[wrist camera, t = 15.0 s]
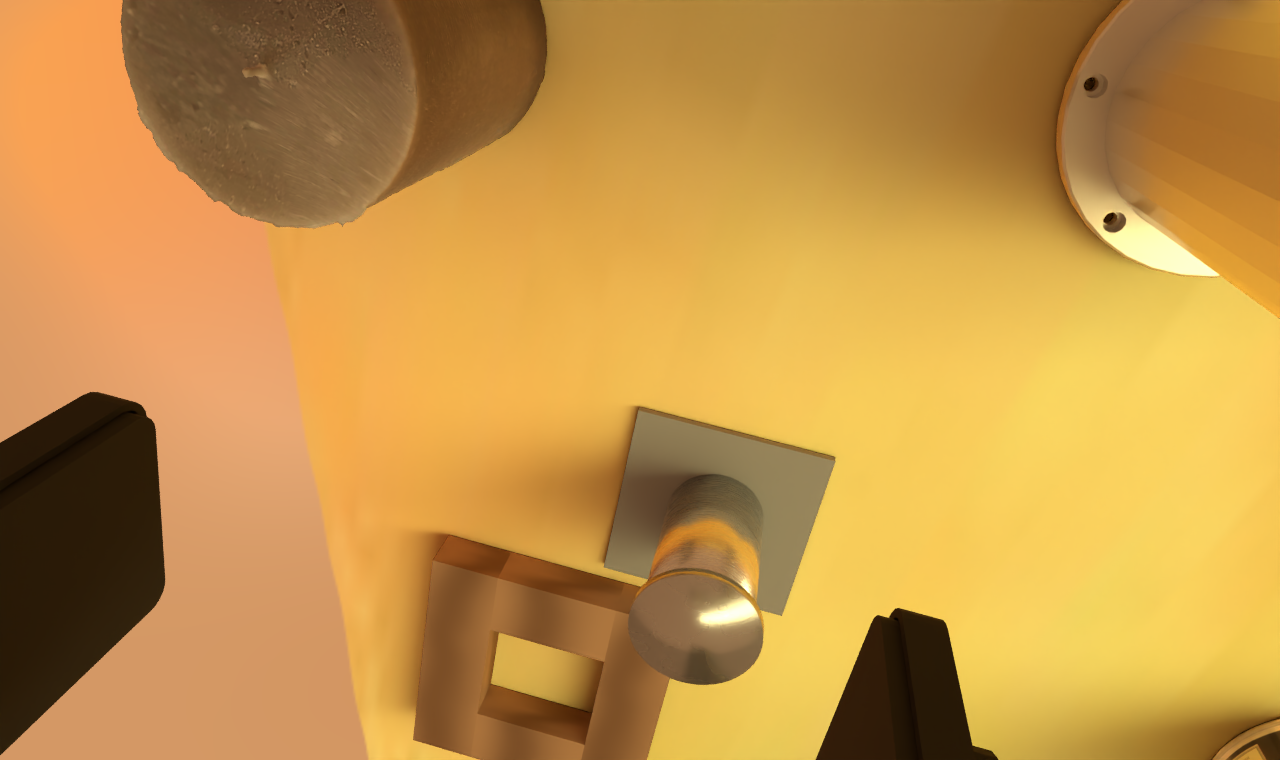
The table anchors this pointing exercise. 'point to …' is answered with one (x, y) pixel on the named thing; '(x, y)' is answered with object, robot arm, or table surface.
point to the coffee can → (1254, 744)
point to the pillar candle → (327, 94)
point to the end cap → (703, 585)
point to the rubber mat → (693, 449)
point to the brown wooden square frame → (545, 614)
